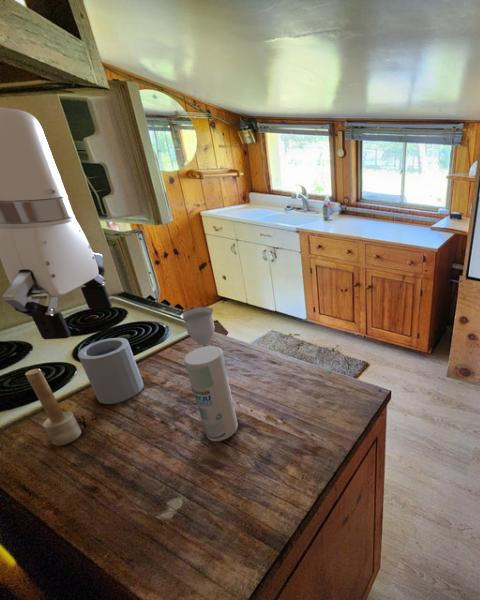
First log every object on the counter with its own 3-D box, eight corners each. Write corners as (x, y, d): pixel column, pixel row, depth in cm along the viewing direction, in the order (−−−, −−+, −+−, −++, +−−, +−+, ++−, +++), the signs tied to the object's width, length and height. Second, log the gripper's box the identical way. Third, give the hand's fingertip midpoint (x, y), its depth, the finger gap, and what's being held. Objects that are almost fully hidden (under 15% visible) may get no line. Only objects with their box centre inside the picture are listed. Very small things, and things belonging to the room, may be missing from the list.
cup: (88, 405, 77) (67, 360, 71) (111, 381, 85) (93, 339, 79) (132, 401, 78) (114, 357, 73) (150, 378, 86) (135, 336, 81)
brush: (47, 446, 66) (8, 380, 59) (62, 430, 70) (28, 365, 63) (72, 444, 67) (37, 378, 60) (86, 427, 71) (55, 363, 64)
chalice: (221, 359, 95) (208, 304, 87) (229, 370, 91) (217, 313, 83) (193, 369, 90) (177, 312, 83) (200, 381, 86) (184, 322, 78)
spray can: (245, 423, 74) (229, 349, 65) (222, 445, 68) (202, 367, 60) (222, 416, 76) (203, 343, 67) (198, 437, 70) (175, 360, 61)
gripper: (51, 201, 51) (90, 299, 58) (-71, 224, 36) (2, 354, 43) (105, 202, 52) (137, 298, 60) (10, 225, 37) (68, 350, 44)
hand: (81, 321), depth 51 cm, fingers open, 9 cm apart
